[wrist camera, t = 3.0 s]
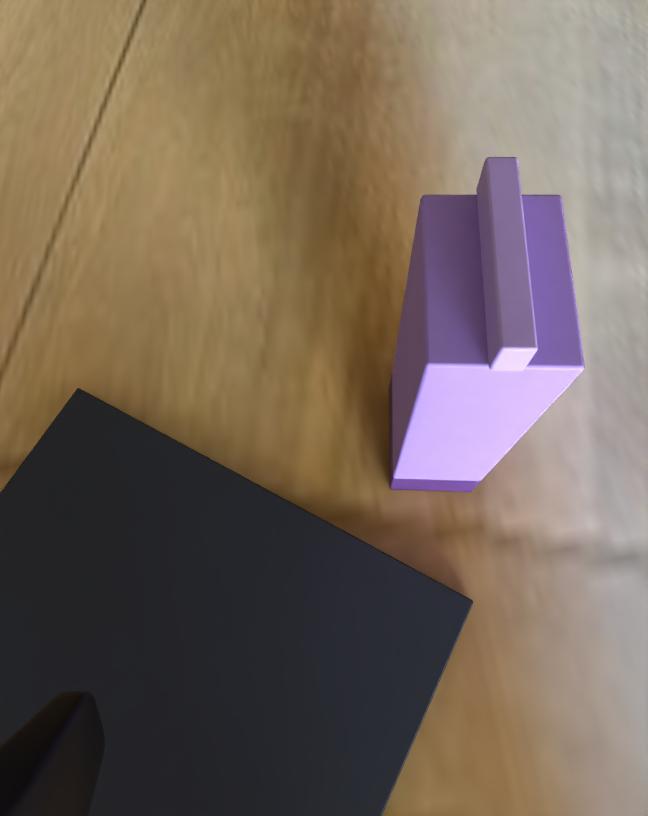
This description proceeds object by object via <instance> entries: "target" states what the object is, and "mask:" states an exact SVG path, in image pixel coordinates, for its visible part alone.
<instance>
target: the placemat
mask: <svg viewBox="0 0 648 816" xmlns="http://www.w3.org/2000/svg"><path fill="white" fill-rule="evenodd" d="M472 604H473V601H472V600H471V599H469V598H467V597H465V596H463V595H462V594H460V593H458V592H456V591H454V590H452V589H450V588H449V587H447V586H445V585H443V584H441V583H439V582H437V581H436V580H434V579H432V578H430V577H428V576H426V575H424V574H423V573H421V572H419V571H417V570H415V569H413V568H411V567H410V566H408V565H406V564H404V563H402V562H400V561H398V560H397V559H395V558H393V557H391V556H389V555H387V554H385V553H384V552H382V551H380V550H378V549H376V548H374V547H373V546H371V545H369V544H367V543H365V542H363V541H361V540H360V539H358V538H356V537H354V536H352V535H350V534H348V533H347V532H345V531H343V530H341V529H339V528H337V527H335V526H334V525H332V524H330V523H328V522H326V521H324V520H322V519H321V518H319V517H317V516H315V515H313V514H311V513H309V512H308V511H306V510H304V509H302V508H300V507H298V506H296V505H295V504H293V503H291V502H289V501H287V500H285V499H283V498H282V497H280V496H278V495H276V494H274V493H272V492H270V491H269V490H267V489H265V488H263V487H261V486H259V485H258V484H256V483H254V482H252V481H250V480H248V479H246V478H245V477H243V476H241V475H239V474H237V473H235V472H233V471H232V470H230V469H228V468H226V467H224V466H222V465H220V464H219V463H217V462H215V461H213V460H211V459H209V458H207V457H206V456H204V455H202V454H200V453H198V452H196V451H194V450H193V449H191V448H189V447H187V446H185V445H183V444H181V443H180V442H178V441H176V440H174V439H172V438H170V437H168V436H167V435H165V434H163V433H161V432H159V431H157V430H155V429H154V428H152V427H150V426H148V425H146V424H144V423H143V422H141V421H139V420H137V419H135V418H133V417H131V416H130V415H128V414H126V413H124V412H122V411H120V410H118V409H117V408H115V407H113V406H111V405H109V404H107V403H105V402H104V401H102V400H100V399H98V398H96V397H94V396H92V395H91V394H89V393H87V392H85V391H83V390H81V389H79V388H78V389H77V390H76V391H75V393H74V394H73V395H72V397H71V398H70V399H69V401H68V402H67V403H66V405H65V406H64V408H63V409H62V410H61V412H60V413H59V414H58V416H57V417H56V418H55V420H54V421H53V422H52V424H51V425H50V427H49V428H48V429H47V431H46V432H45V433H44V435H43V436H42V437H41V439H40V440H39V441H38V443H37V444H36V445H35V447H34V448H33V450H32V451H31V452H30V454H29V455H28V456H27V458H26V459H25V460H24V462H23V463H22V464H21V466H20V467H19V469H18V470H17V471H16V473H15V474H14V475H13V477H12V478H11V479H10V481H9V482H8V483H7V485H6V486H5V487H4V489H3V490H2V492H1V493H0V745H1V744H3V743H4V742H5V741H6V740H7V739H8V738H9V737H10V736H11V735H13V734H14V733H15V732H16V731H17V730H18V729H19V728H20V727H22V726H23V725H24V724H25V723H26V722H27V721H28V720H29V719H30V718H32V717H33V716H34V715H35V714H36V713H37V712H38V711H39V710H40V709H42V708H43V707H44V706H45V705H46V704H47V703H48V702H49V701H50V700H52V699H53V698H54V697H55V696H57V695H58V694H60V693H64V692H85V691H87V692H90V693H91V694H92V695H93V696H94V698H95V701H96V705H97V709H98V712H99V716H100V720H101V723H102V727H103V731H104V735H105V749H104V755H103V759H102V763H101V767H100V771H99V775H98V779H97V783H96V787H95V790H94V794H93V798H92V802H91V806H90V810H89V814H88V816H382V814H383V811H384V809H385V807H386V804H387V802H388V800H389V797H390V795H391V793H392V790H393V788H394V786H395V783H396V781H397V779H398V776H399V774H400V772H401V769H402V767H403V765H404V762H405V760H406V758H407V755H408V753H409V751H410V748H411V746H412V744H413V741H414V739H415V737H416V734H417V732H418V730H419V727H420V725H421V723H422V720H423V718H424V716H425V713H426V711H427V709H428V706H429V704H430V702H431V699H432V697H433V695H434V692H435V690H436V688H437V685H438V683H439V681H440V678H441V676H442V674H443V671H444V669H445V667H446V664H447V662H448V660H449V658H450V655H451V653H452V651H453V648H454V646H455V644H456V641H457V639H458V637H459V634H460V632H461V630H462V627H463V625H464V623H465V620H466V618H467V616H468V613H469V611H470V609H471V606H472Z"/></svg>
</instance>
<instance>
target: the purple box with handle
mask: <svg viewBox="0 0 648 816" xmlns="http://www.w3.org/2000/svg"><path fill="white" fill-rule="evenodd" d="M583 370H584V359H583V351H582V344H581V337H580V329H579V322H578V315H577V307H576V300H575V293H574V285H573V278H572V270H571V263H570V256H569V248H568V241H567V234H566V226H565V219H564V212H563V204H562V197H561V196H560V195H522V193H521V184H520V174H519V165H518V159H517V158H516V157H488V158H486V160H485V162H484V166H483V169H482V172H481V176H480V179H479V183H478V186H477V195H423V196H422V197H421V199H420V205H419V211H418V217H417V224H416V230H415V236H414V242H413V248H412V254H411V260H410V266H409V272H408V278H407V284H406V290H405V296H404V302H403V308H402V314H401V320H400V327H399V333H398V339H397V345H396V351H395V357H394V363H393V369H392V374H391V381H390V387H389V488H390V489H394V490H428V491H461V492H471V491H472V490H473V489H474V488H475V487H476V486H477V485H478V483H479V482H480V481H481V480H482V479H483V478H484V477H485V475H486V474H487V473H488V472H489V471H490V470H491V469H492V468H493V467H494V466H495V465H496V464H497V463H498V461H499V460H500V459H501V458H502V457H503V456H504V455H505V454H506V453H507V452H508V451H509V450H510V449H511V447H512V446H513V445H514V444H515V443H516V442H517V441H518V440H519V439H520V438H521V437H522V436H523V435H524V433H525V432H526V431H527V430H528V429H529V428H530V427H531V426H532V425H533V424H534V423H535V422H536V421H537V419H538V418H539V417H540V416H541V415H542V414H543V413H544V412H545V411H546V410H547V409H548V408H549V407H550V405H551V404H552V403H553V402H554V401H555V400H556V399H557V398H558V397H559V396H560V395H561V394H562V392H563V391H564V390H565V389H566V388H567V387H568V386H569V385H570V384H571V383H572V382H573V381H574V380H575V378H576V377H577V376H578V375H579V374H580V373H581V372H582V371H583Z"/></svg>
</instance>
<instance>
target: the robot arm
mask: <svg viewBox="0 0 648 816" xmlns="http://www.w3.org/2000/svg"><path fill="white" fill-rule="evenodd" d="M104 749H105V735H104V731H103V727H102V723H101V720H100V716H99V712H98V709H97V705H96V701H95V698H94V696H93V695H92V694H91V693H90V692H87V691H85V692H64V693H60V694H58V695H57V696H55V697H54V698H53V699H52V700H50V701H49V702H48V703H47V704H46V705H45V706H44V707H43V708H42V709H40V710H39V711H38V712H37V713H36V714H35V715H34V716H33V717H32V718H30V719H29V720H28V721H27V722H26V723H25V724H24V725H23V726H22V727H20V728H19V729H18V730H17V731H16V732H15V733H14V734H13V735H11V736H10V737H9V738H8V739H7V740H6V741H5V742H4V743H3V744H1V745H0V816H88V814H89V810H90V806H91V802H92V798H93V794H94V790H95V787H96V783H97V779H98V775H99V771H100V767H101V763H102V759H103V755H104Z"/></svg>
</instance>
